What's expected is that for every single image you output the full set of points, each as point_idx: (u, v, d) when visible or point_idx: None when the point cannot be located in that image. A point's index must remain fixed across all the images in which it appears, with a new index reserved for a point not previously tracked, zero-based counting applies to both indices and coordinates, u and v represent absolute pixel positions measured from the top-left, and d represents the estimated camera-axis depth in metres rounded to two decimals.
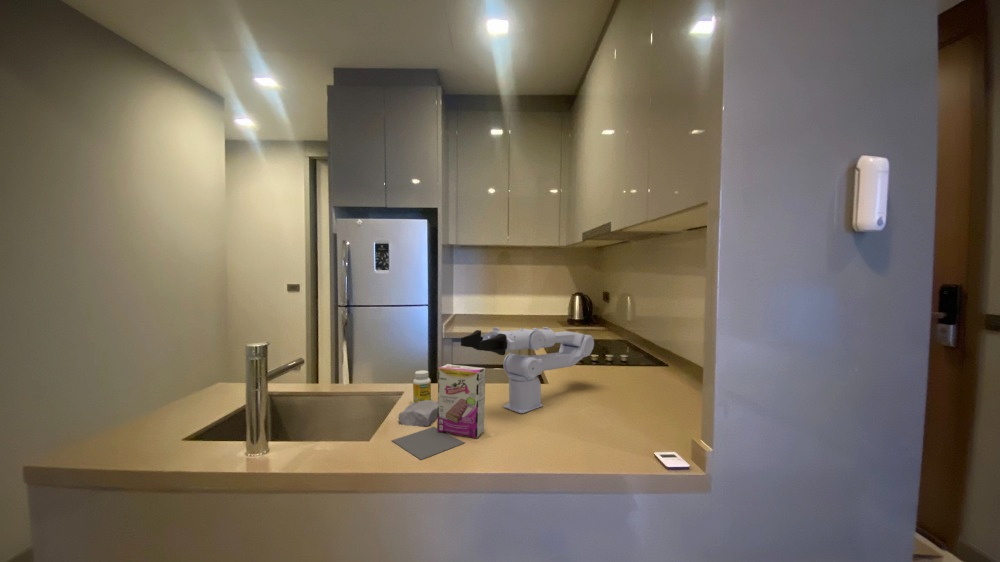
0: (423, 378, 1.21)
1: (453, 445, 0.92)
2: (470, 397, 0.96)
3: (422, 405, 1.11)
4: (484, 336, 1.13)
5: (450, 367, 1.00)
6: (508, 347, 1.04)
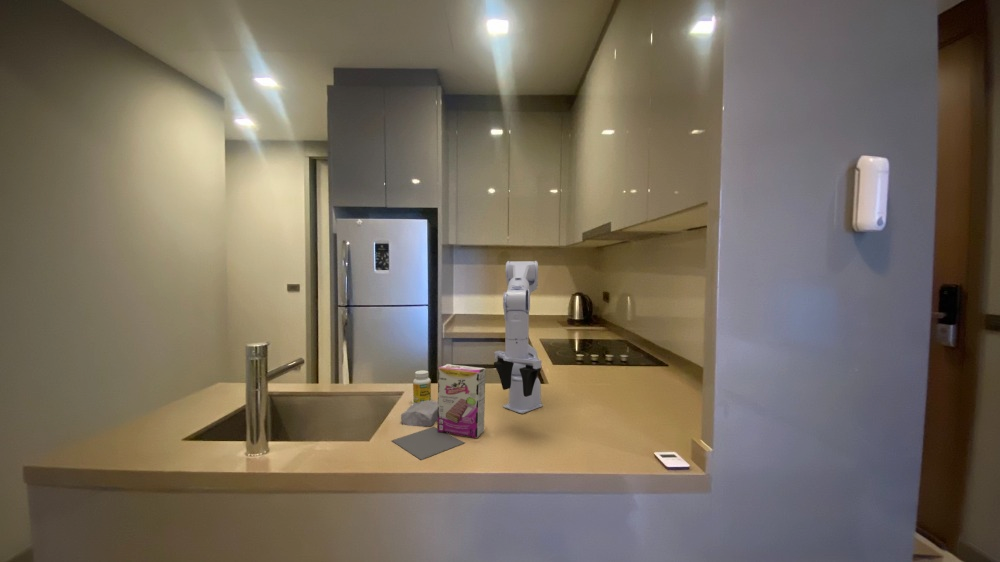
0: (423, 378, 1.21)
1: (453, 445, 0.92)
2: (470, 398, 0.96)
3: (424, 405, 1.11)
4: None
5: (450, 367, 0.99)
6: None
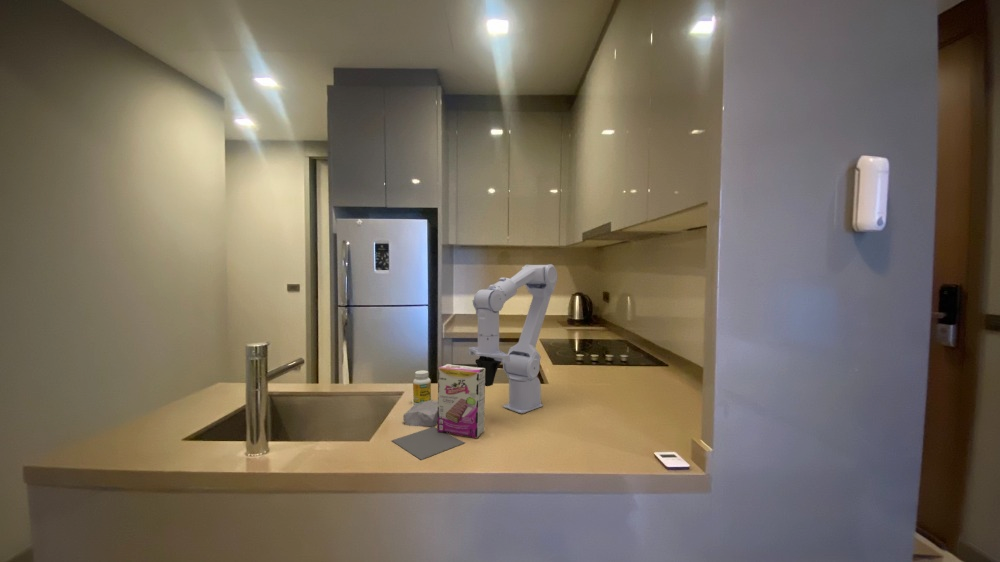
0: (423, 378, 1.21)
1: (453, 445, 0.92)
2: (470, 397, 0.96)
3: (427, 405, 1.11)
4: None
5: (450, 367, 1.00)
6: None
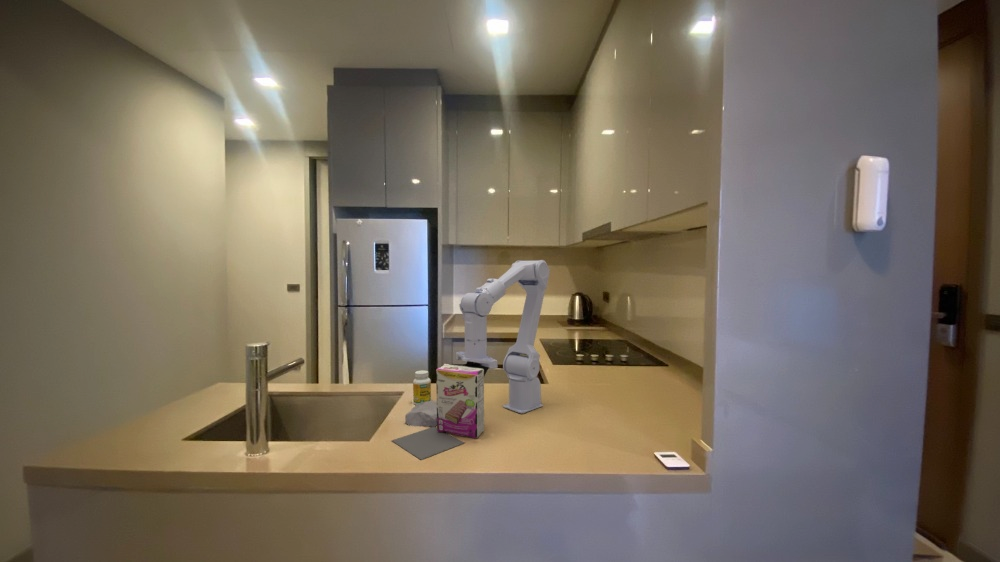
0: (423, 378, 1.21)
1: (453, 445, 0.92)
2: (469, 399, 0.95)
3: (428, 406, 1.11)
4: None
5: (448, 368, 0.98)
6: None
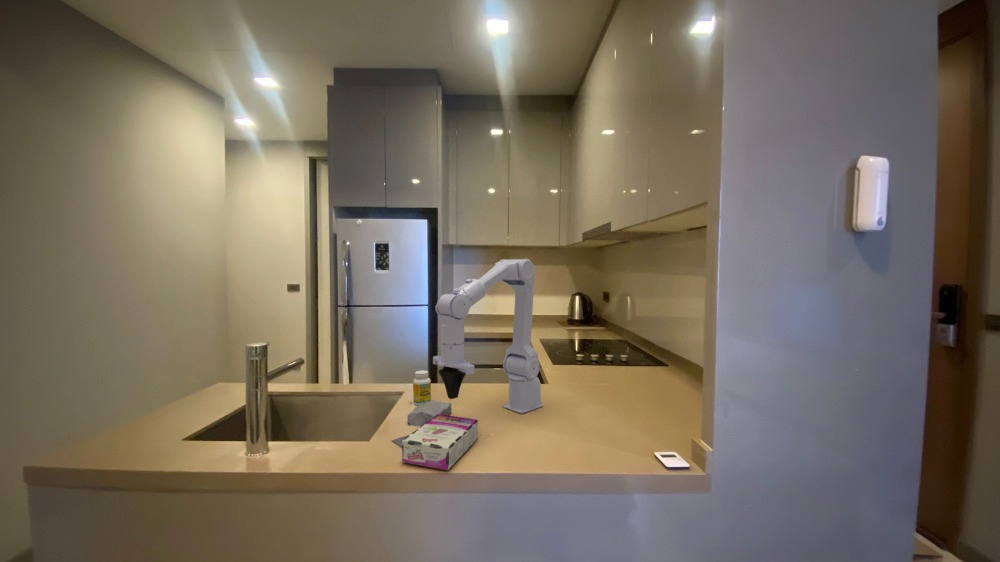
0: (423, 378, 1.21)
1: None
2: None
3: (430, 406, 1.10)
4: None
5: (413, 458, 0.83)
6: None
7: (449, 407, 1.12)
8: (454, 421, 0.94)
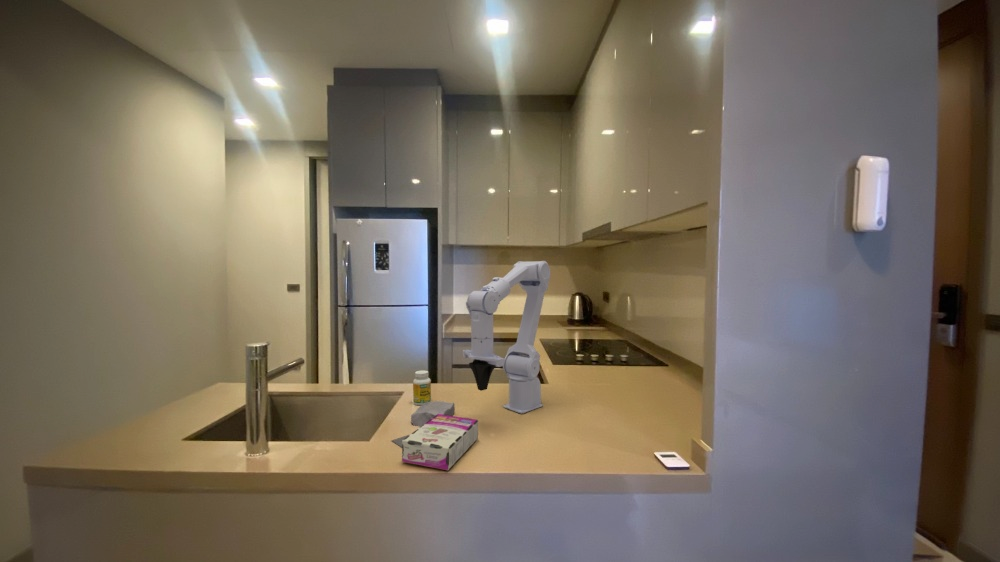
0: (423, 378, 1.21)
1: None
2: None
3: (434, 406, 1.10)
4: None
5: (413, 458, 0.83)
6: None
7: (452, 407, 1.12)
8: (454, 421, 0.94)
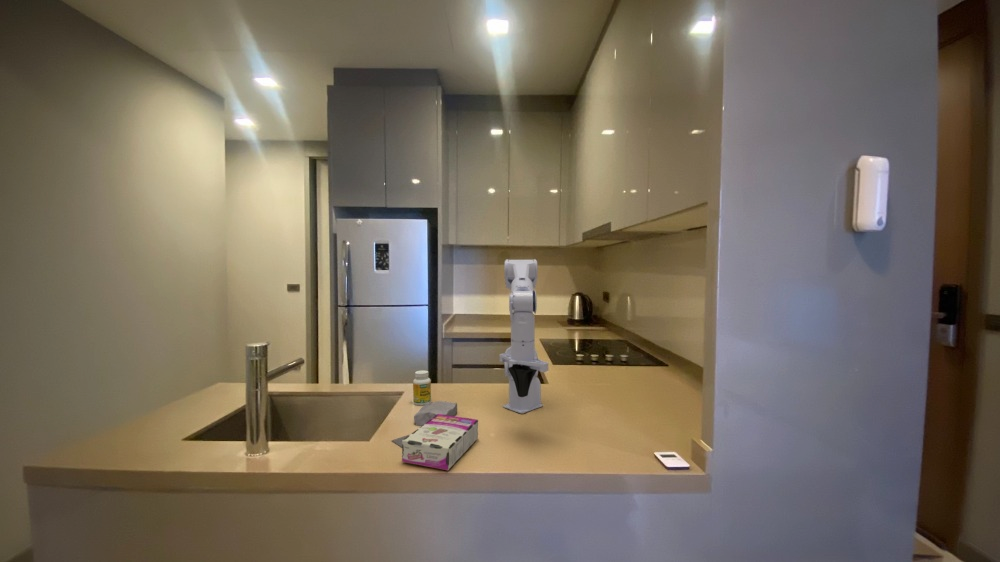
0: (423, 378, 1.21)
1: None
2: None
3: (437, 406, 1.10)
4: None
5: (413, 458, 0.83)
6: None
7: (455, 407, 1.12)
8: (454, 421, 0.94)
